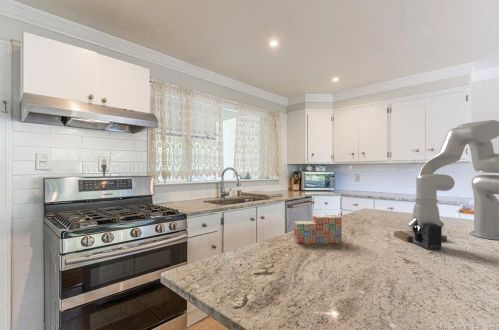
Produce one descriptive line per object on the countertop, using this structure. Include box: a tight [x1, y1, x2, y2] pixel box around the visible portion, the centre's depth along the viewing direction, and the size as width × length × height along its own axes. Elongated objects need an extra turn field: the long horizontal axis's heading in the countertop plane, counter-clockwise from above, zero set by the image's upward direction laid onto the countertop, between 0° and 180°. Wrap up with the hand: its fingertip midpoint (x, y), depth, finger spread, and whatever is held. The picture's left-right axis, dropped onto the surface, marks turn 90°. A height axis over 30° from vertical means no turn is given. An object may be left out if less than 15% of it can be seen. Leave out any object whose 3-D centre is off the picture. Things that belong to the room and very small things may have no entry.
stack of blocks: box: [293, 214, 343, 244], centre depth 120 cm, size 21×6×12 cm, turn 94°
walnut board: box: [393, 230, 448, 243], centre depth 124 cm, size 20×10×3 cm, turn 94°
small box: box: [411, 224, 443, 251], centre depth 113 cm, size 11×6×10 cm, turn 1°
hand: (426, 241), depth 113 cm, fingers open, 7 cm apart
